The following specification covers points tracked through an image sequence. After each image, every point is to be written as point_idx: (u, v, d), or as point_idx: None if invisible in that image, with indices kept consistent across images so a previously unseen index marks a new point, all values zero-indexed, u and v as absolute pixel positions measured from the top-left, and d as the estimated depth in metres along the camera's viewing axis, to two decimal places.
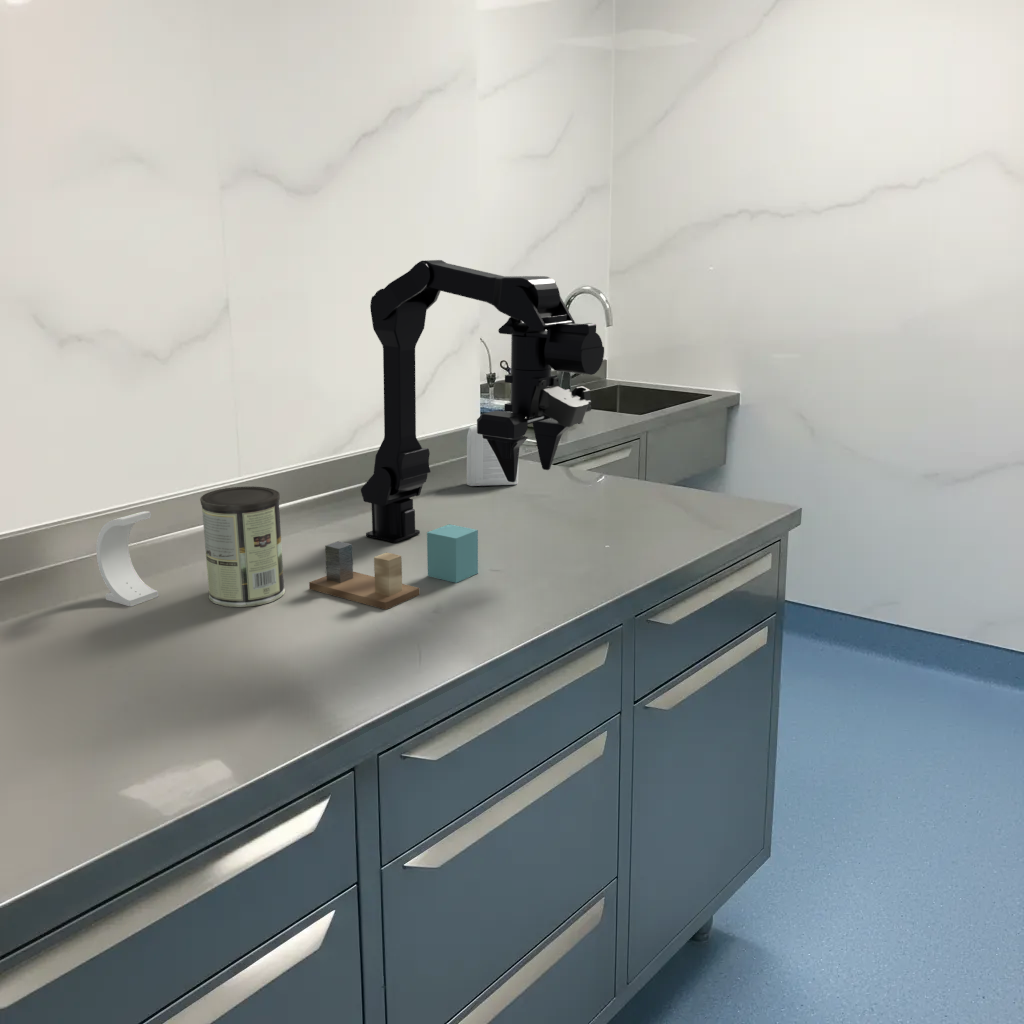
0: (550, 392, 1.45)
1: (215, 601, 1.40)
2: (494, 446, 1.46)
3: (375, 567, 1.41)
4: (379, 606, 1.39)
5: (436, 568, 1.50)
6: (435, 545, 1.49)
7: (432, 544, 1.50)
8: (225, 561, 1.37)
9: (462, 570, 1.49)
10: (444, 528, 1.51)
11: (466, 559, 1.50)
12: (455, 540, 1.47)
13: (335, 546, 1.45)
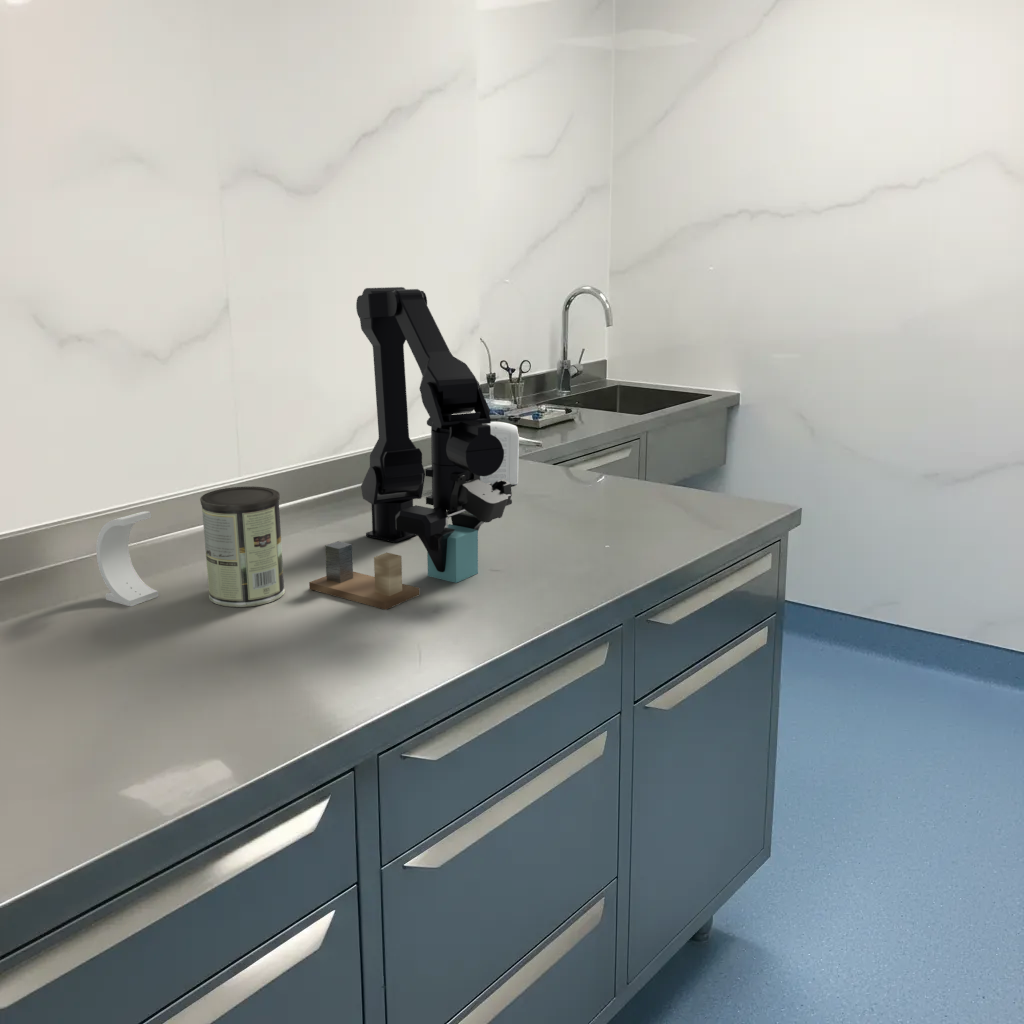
0: (469, 487, 1.45)
1: (215, 601, 1.40)
2: (422, 537, 1.48)
3: (375, 567, 1.41)
4: (379, 606, 1.39)
5: None
6: None
7: None
8: (225, 561, 1.37)
9: (462, 570, 1.49)
10: None
11: (466, 559, 1.50)
12: (455, 540, 1.47)
13: (335, 546, 1.45)
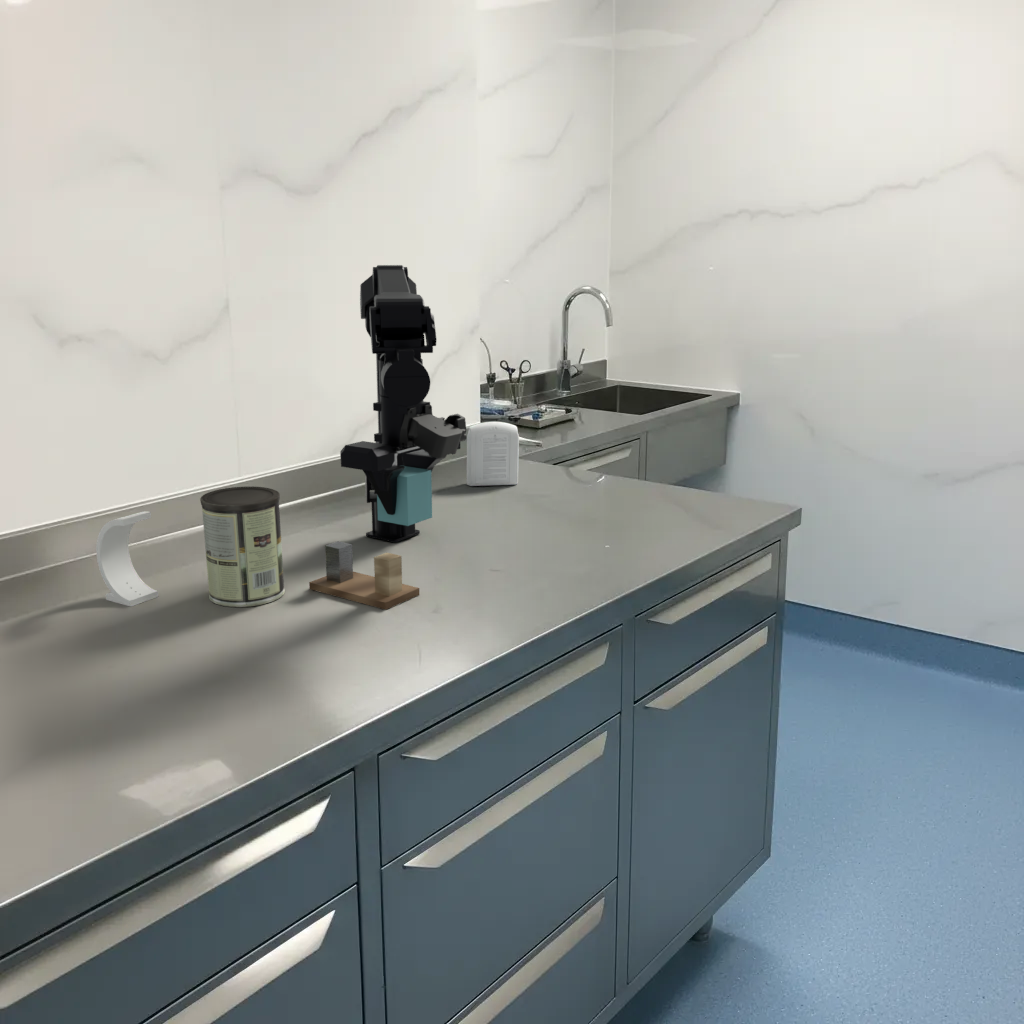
0: (420, 421, 1.34)
1: (215, 601, 1.40)
2: (370, 477, 1.37)
3: (375, 567, 1.41)
4: (379, 606, 1.39)
5: None
6: None
7: None
8: (225, 561, 1.37)
9: (414, 512, 1.39)
10: None
11: (419, 501, 1.39)
12: (406, 479, 1.36)
13: (335, 546, 1.45)
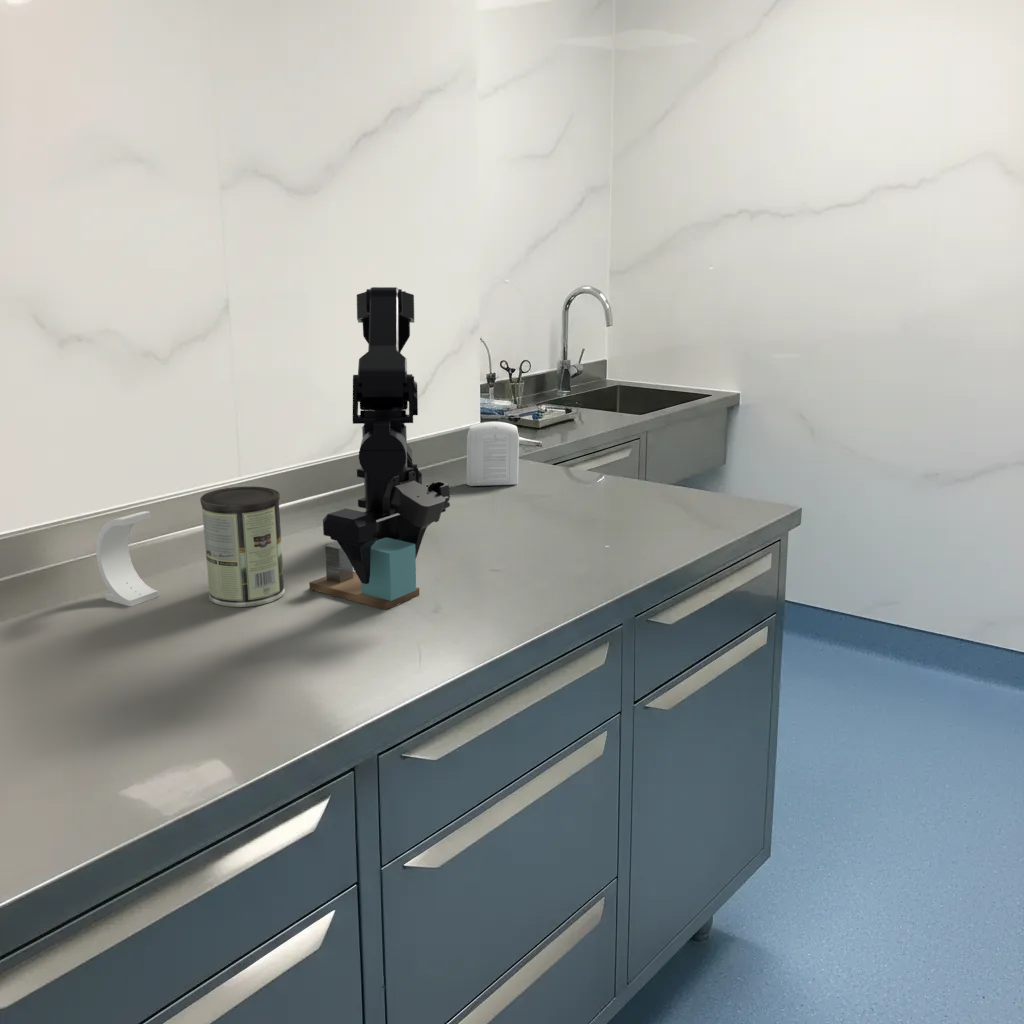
0: (402, 489, 1.34)
1: (215, 601, 1.40)
2: (344, 546, 1.36)
3: None
4: (379, 606, 1.39)
5: (370, 585, 1.40)
6: None
7: None
8: (225, 561, 1.37)
9: (397, 587, 1.39)
10: (380, 542, 1.41)
11: (402, 575, 1.40)
12: (389, 555, 1.37)
13: (335, 546, 1.45)
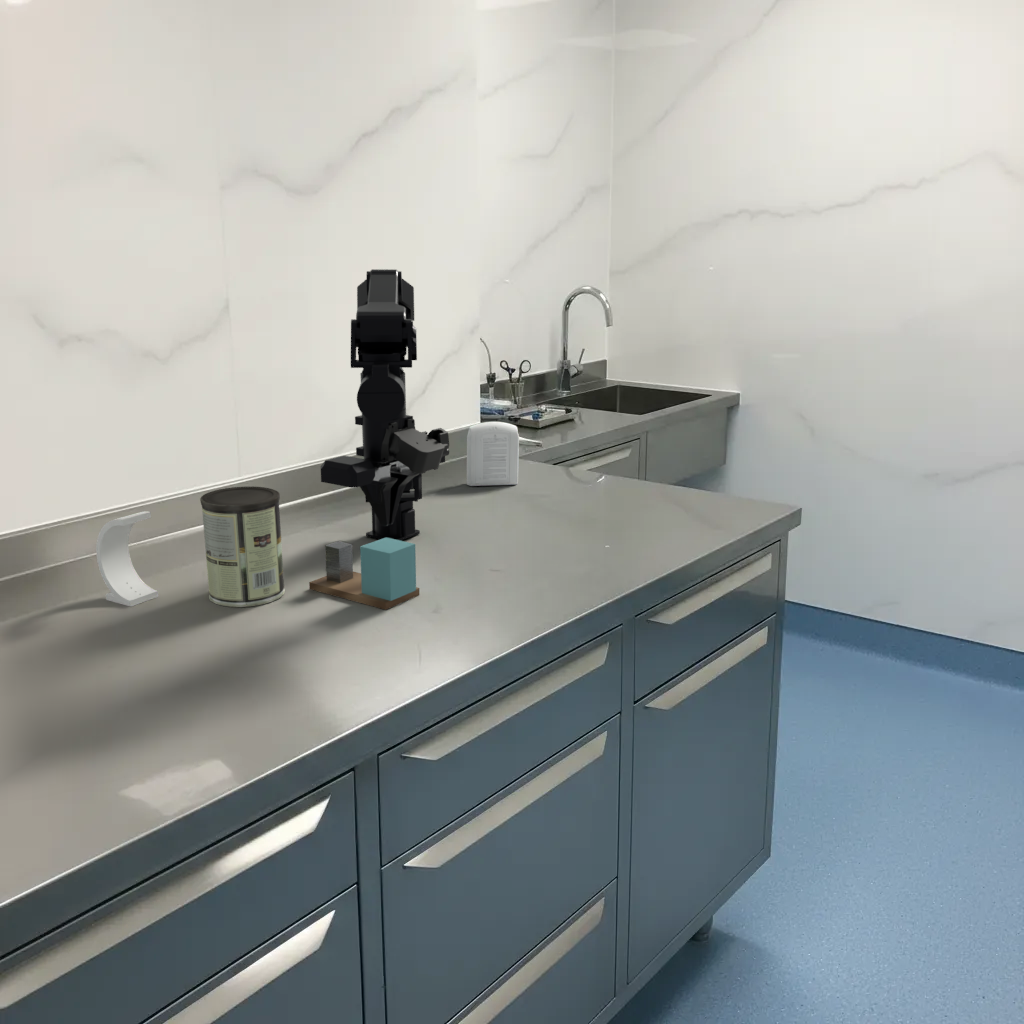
0: (401, 435, 1.33)
1: (215, 601, 1.40)
2: (364, 488, 1.37)
3: None
4: (379, 606, 1.39)
5: (370, 585, 1.40)
6: (369, 560, 1.39)
7: (365, 559, 1.40)
8: (225, 561, 1.37)
9: (397, 587, 1.39)
10: (380, 542, 1.41)
11: (402, 575, 1.40)
12: (389, 555, 1.37)
13: (335, 546, 1.45)
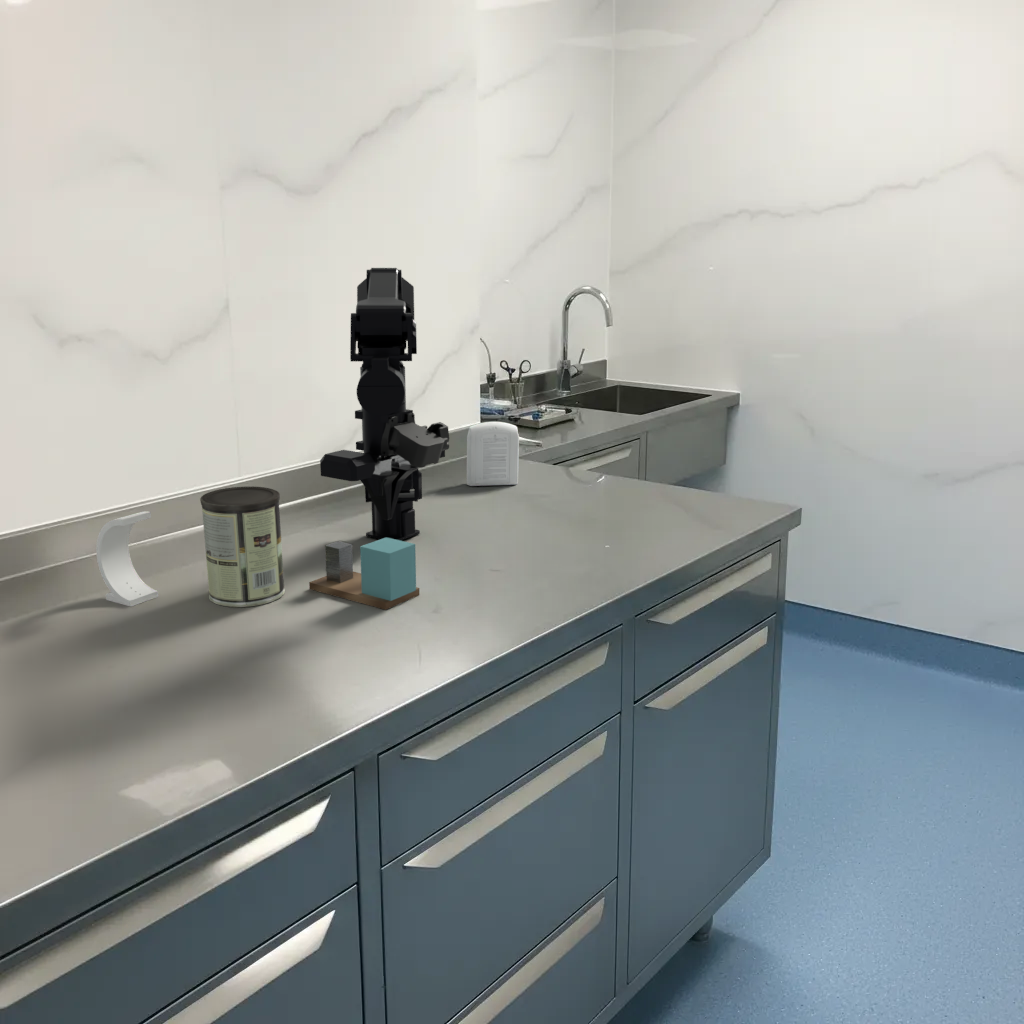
0: (401, 429, 1.32)
1: (215, 601, 1.40)
2: (365, 482, 1.37)
3: None
4: (379, 606, 1.39)
5: (370, 585, 1.40)
6: (369, 560, 1.39)
7: (365, 559, 1.40)
8: (225, 561, 1.37)
9: (397, 587, 1.39)
10: (380, 542, 1.41)
11: (402, 575, 1.40)
12: (389, 555, 1.37)
13: (335, 546, 1.45)
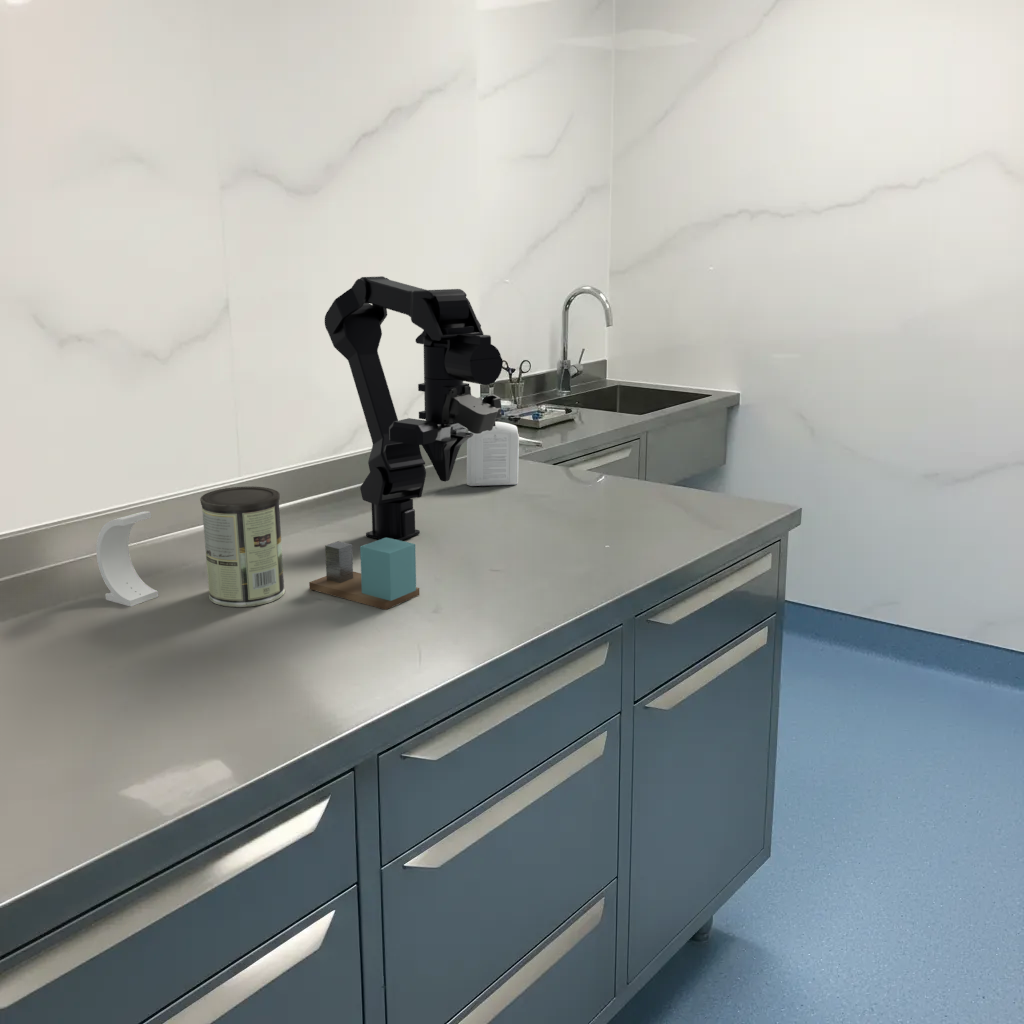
0: (460, 400, 1.50)
1: (215, 601, 1.40)
2: (426, 447, 1.55)
3: None
4: (379, 606, 1.39)
5: (370, 585, 1.40)
6: (369, 560, 1.39)
7: (365, 559, 1.40)
8: (225, 561, 1.37)
9: (397, 587, 1.39)
10: (380, 542, 1.41)
11: (402, 575, 1.40)
12: (389, 555, 1.37)
13: (335, 546, 1.45)
